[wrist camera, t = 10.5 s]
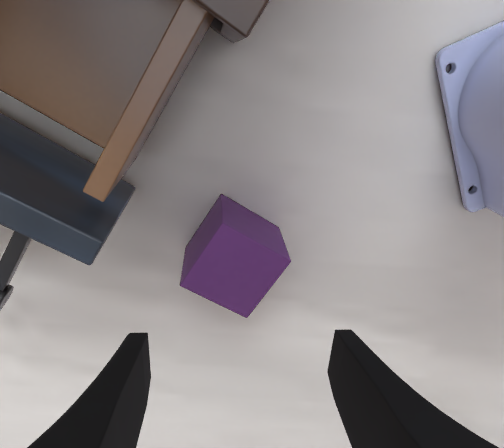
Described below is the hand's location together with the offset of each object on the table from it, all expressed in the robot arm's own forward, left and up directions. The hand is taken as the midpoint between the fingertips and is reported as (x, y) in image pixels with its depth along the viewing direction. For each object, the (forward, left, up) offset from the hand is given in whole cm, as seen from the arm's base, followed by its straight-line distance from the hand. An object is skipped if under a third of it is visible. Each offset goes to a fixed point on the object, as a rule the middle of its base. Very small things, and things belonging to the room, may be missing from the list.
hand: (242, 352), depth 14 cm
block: (0, 0, -9) cm, 9 cm away
